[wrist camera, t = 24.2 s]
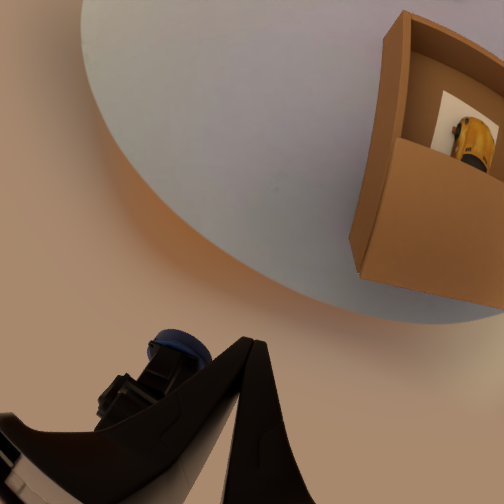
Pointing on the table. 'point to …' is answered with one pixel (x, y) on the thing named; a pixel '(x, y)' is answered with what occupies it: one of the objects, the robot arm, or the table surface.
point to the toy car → (464, 133)
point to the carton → (423, 103)
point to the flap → (439, 228)
